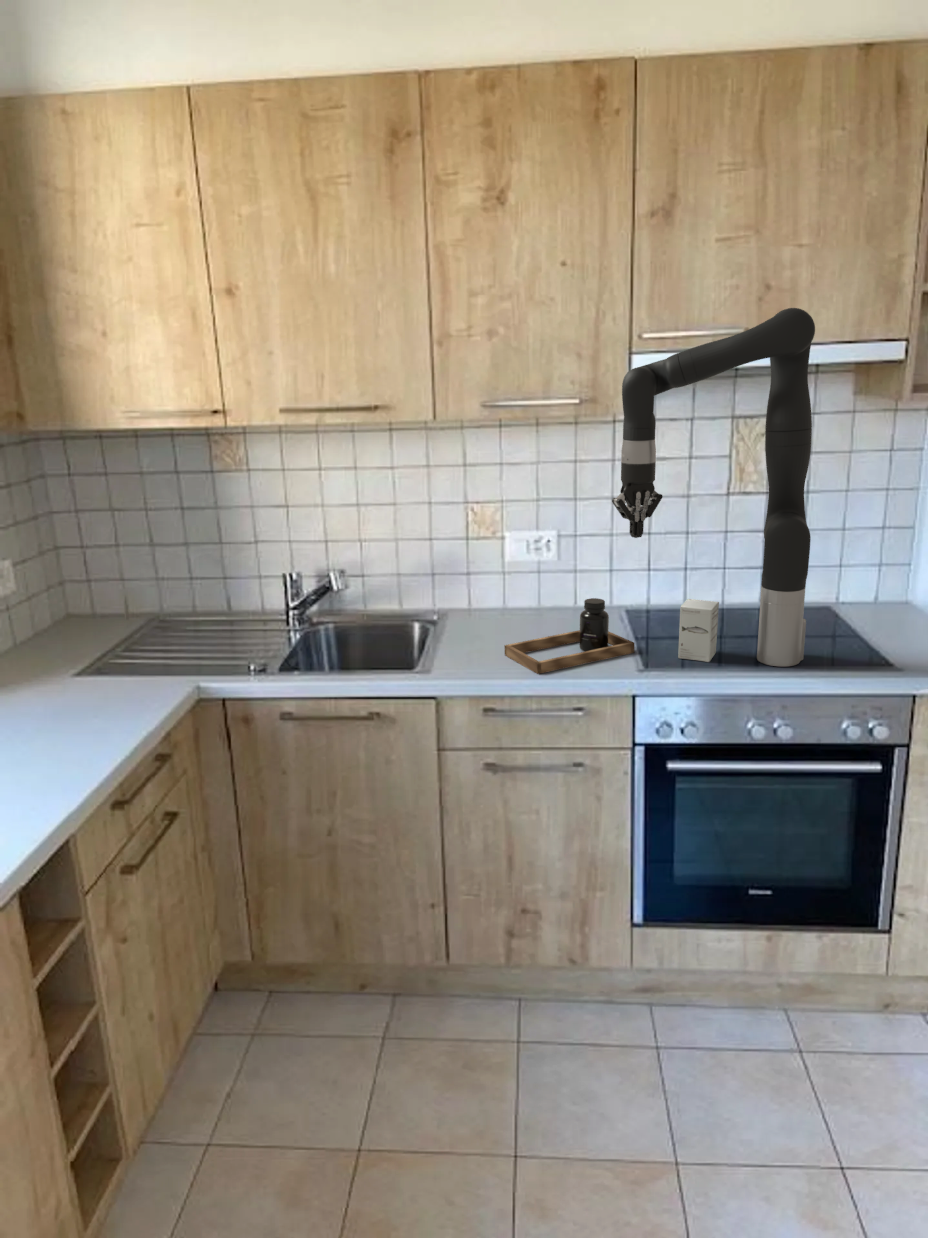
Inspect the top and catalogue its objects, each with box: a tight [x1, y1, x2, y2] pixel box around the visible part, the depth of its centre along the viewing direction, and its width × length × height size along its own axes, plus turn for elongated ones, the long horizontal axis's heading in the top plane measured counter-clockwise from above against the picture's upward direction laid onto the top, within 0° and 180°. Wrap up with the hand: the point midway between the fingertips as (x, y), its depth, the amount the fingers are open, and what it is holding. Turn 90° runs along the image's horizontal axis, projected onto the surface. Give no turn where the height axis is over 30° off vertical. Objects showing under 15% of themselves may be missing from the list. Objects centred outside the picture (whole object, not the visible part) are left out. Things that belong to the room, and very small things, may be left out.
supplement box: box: [677, 598, 720, 663], centre depth 206 cm, size 7×7×13 cm
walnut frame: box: [504, 629, 635, 675], centre depth 212 cm, size 26×15×2 cm, turn 117°
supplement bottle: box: [578, 597, 610, 652], centre depth 214 cm, size 7×7×12 cm
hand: (636, 536), depth 205 cm, fingers closed
